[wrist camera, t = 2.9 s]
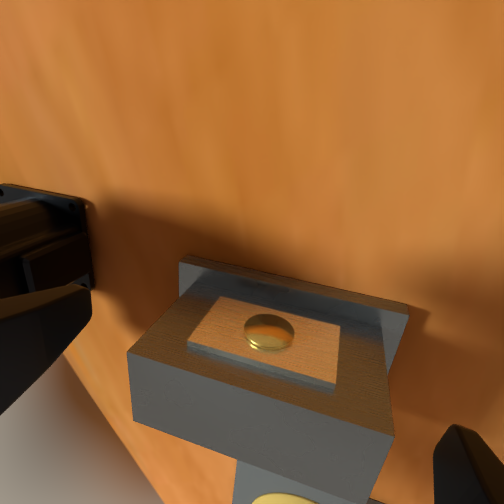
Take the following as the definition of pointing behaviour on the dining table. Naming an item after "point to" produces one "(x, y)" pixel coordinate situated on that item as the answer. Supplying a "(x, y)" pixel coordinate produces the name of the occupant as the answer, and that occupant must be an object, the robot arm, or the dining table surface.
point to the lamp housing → (273, 374)
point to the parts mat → (277, 489)
